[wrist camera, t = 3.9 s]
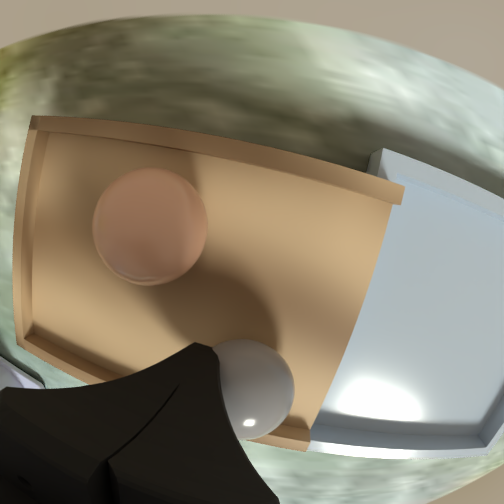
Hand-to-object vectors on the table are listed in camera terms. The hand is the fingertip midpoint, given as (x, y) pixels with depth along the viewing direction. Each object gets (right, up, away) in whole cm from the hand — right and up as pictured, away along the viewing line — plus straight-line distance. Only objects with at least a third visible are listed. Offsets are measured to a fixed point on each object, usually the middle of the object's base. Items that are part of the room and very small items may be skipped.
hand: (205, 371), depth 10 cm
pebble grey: (+1, 0, 0) cm, 1 cm away
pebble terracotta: (-1, +5, -1) cm, 5 cm away
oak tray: (-1, +3, +3) cm, 5 cm away
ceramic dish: (+11, 0, +3) cm, 11 cm away
